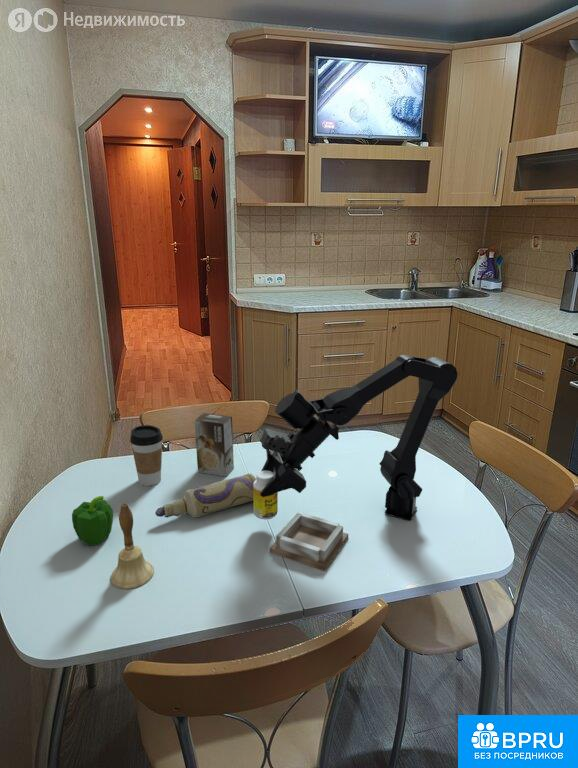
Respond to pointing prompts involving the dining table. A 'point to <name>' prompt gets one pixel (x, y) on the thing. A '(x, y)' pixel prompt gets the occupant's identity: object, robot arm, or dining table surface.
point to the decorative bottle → (211, 497)
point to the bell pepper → (93, 521)
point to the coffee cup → (147, 453)
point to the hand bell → (130, 557)
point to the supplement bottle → (264, 505)
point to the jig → (310, 540)
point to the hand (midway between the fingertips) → (259, 489)
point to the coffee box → (214, 444)
